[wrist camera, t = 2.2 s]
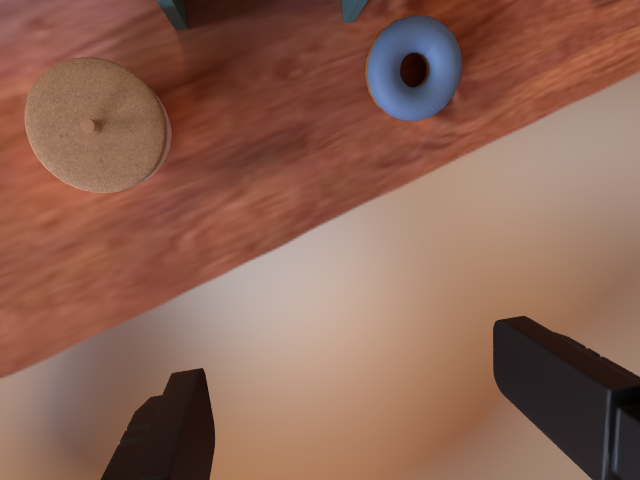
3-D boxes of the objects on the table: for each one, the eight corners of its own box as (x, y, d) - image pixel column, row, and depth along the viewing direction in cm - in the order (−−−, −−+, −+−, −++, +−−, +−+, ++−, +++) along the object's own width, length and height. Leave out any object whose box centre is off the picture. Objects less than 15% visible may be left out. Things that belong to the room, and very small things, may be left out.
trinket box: (58, 81, 37) (-8, 55, 28) (173, 73, 39) (146, 46, 30) (83, 193, 39) (30, 202, 30) (191, 181, 41) (171, 187, 32)
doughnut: (416, 140, 44) (434, 137, 39) (343, 89, 41) (352, 80, 37) (465, 61, 43) (489, 49, 38) (392, 4, 40) (409, -15, 36)
